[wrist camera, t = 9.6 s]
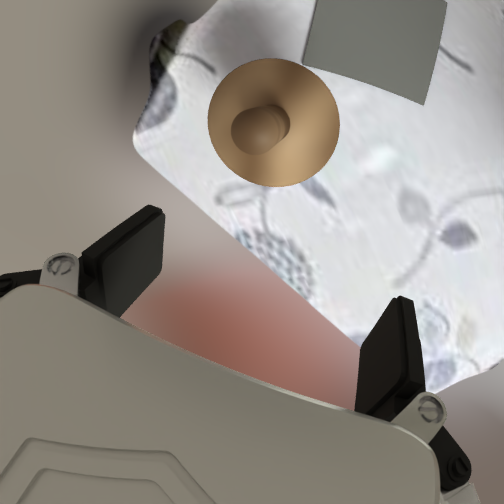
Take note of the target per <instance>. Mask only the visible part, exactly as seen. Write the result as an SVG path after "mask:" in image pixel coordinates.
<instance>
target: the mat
mask: <svg viewBox="0 0 504 504" xmlns="http://www.w3.org/2000/svg"><path fill="white" fill-rule="evenodd" d="M446 8H447V2H445V1H443V0H318V2H317V6H316V11H315V15H314V19H313V23H312V27H311V32H310V36H309V40H308V44H307V48H306V53H305V57H304V61H303V65H306V66H310V67H314V68H317V69H321V70H325V71H329V72H332V73H336V74H339V75H342V76H346V77H349V78H352V79H355V80H358V81H361V82H364V83H367V84H370V85H373V86H376V87H379V88H381V89H384V90H387V91H389V92H392V93H394V94H397V95H400V96H402V97H404V98H407V99H409V100H412V101H414V102H416V103H419V104H421V105H424V103H425V99H426V96H427V92H428V89H429V85H430V81H431V78H432V74H433V70H434V66H435V62H436V57H437V53H438V49H439V44H440V39H441V35H442V30H443V24H444V19H445V13H446Z"/></svg>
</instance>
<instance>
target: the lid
mask: <svg viewBox="0 0 504 504" xmlns="http://www.w3.org/2000/svg"><path fill="white" fill-rule="evenodd" d="M339 128H340V120H339V112H338V108H337V105H336V102H335V99H334V97H333V95H332V93H331V92H330V90H329V89H328V87H327V86H326V84H325V83H324V82H323V81H322V80H321V79H320V78H319V77H318V76H317V75H315V74H314V73H313V72H312V71H310V70H308V69H307V68H305V67H303V66H301V65H299V64H297V63H294V62H291V61H288V60H283V59H259V60H255V61H251V62H248V63H246V64H244V65H241V66H240V67H238V68H236V69H235V70H233V71H232V72H231V73H229V74H228V75H227V76H226V77H225V78H224V79H223V80H222V81H221V83H220V84H219V86H218V87H217V89H216V90H215V92H214V94H213V96H212V99H211V102H210V106H209V110H208V130H209V135H210V139H211V142H212V144H213V147H214V149H215V151H216V152H217V154H218V156H219V157H220V158H221V160H222V161H223V162H224V164H225V165H226V166H227V167H228V168H229V169H231V170H232V171H233V172H234V173H235V174H237V175H238V176H240V177H242V178H243V179H245V180H247V181H249V182H252V183H255V184H258V185H263V186H269V187H284V186H290V185H294V184H298V183H300V182H302V181H305V180H307V179H308V178H310V177H312V176H313V175H315V174H316V173H317V172H319V171H320V170H321V169H322V168H323V167H324V166H325V164H326V163H327V162H328V160H329V159H330V157H331V156H332V154H333V152H334V150H335V147H336V144H337V141H338V137H339Z"/></svg>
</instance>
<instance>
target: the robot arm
mask: <svg viewBox="0 0 504 504" xmlns="http://www.w3.org/2000/svg"><path fill="white" fill-rule="evenodd" d="M164 226H165V214H164V213H163V211H162V209H160V208H158V207H155V206H152V205H147V206H145V207H144V208H142V209H141V210H140V211H138V212H136V213H135V214H134V215H132V216H131V217H130V218H128V219H127V220H125V221H124V222H122V223H121V224H119V225H118V226H117V227H115V228H114V229H113V230H111V231H110V232H108V233H107V234H106V235H104V236H103V237H102V238H100V239H99V240H98V241H96V242H95V243H94V244H92V245H91V246H90V247H88V248H87V249H86V250H84V251H83V252H82V256H81V257H79V258H77V257H76V256H74V255H73V254H70V253H58V254H55V255H52V256H51V257H49V258H48V259H47V260H46V261H45V262H44V265H43V268H42V269H41V270H32V271H24V272H16V273H7V274H3V275H1V276H0V504H480V501H479V498H478V496H477V493H476V490H475V488H474V485H473V483H471V484H469V482H468V480H469V478H470V476H471V463H470V461H469V459H468V457H467V456H466V454H465V453H464V452H463V451H462V449H461V448H460V447H459V445H458V444H457V443H456V441H455V440H454V439H453V438H452V436H451V435H450V434H449V433H448V431H447V430H446V429H445V428H444V426H443V424H444V422H445V420H446V417H447V412H446V408H445V405H444V403H443V402H442V400H441V399H440V398H439V397H438V396H437V395H435V394H433V393H431V392H426V388H425V376H424V366H423V357H422V349H421V342H420V339H419V333H418V326H417V320H416V314H415V308H414V302H413V300H410V299H408V298H405V297H403V296H398V297H397V298H393V299H392V300H391V302H390V303H389V305H388V306H387V308H386V309H385V311H384V312H383V314H382V316H381V317H380V319H379V320H378V322H377V323H376V325H375V326H374V328H373V329H372V330H371V332H370V333H369V335H368V336H367V338H366V339H365V341H364V342H363V344H362V346H361V349H360V358H359V371H358V382H357V393H356V401H355V410H354V411H352V410H348V409H345V408H342V407H338V406H335V405H332V404H329V403H325V402H322V401H319V400H316V399H312V398H309V397H306V396H303V395H300V394H297V393H294V392H291V391H288V390H285V389H282V388H280V387H277V386H274V385H271V384H268V383H266V382H263V381H260V380H258V379H255V378H252V377H250V376H247V375H244V374H242V373H239V372H237V371H234V370H232V369H229V368H227V367H224V366H222V365H219V364H217V363H215V362H212V361H210V360H207V359H205V358H203V357H200V356H198V355H196V354H193V353H191V352H189V351H187V350H185V349H182V348H180V347H178V346H176V345H174V344H171V343H169V342H167V341H165V340H163V339H161V338H158V337H156V336H155V335H152V334H150V333H148V332H146V331H144V330H142V329H140V328H138V327H136V326H134V325H132V324H130V323H128V322H126V321H124V320H123V319H121V318H120V317H121V315H122V314H123V313H124V312H125V311H126V310H127V309H128V308H129V307H130V305H131V304H132V303H133V302H134V301H135V300H136V299H137V298H138V297H139V296H140V295H141V293H142V292H143V291H144V290H145V289H146V288H147V287H148V286H149V285H150V283H152V281H153V280H154V279H155V278H156V277H157V276H158V275H159V273H160V272H161V269H162V258H163V241H164V228H165V227H164Z"/></svg>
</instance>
